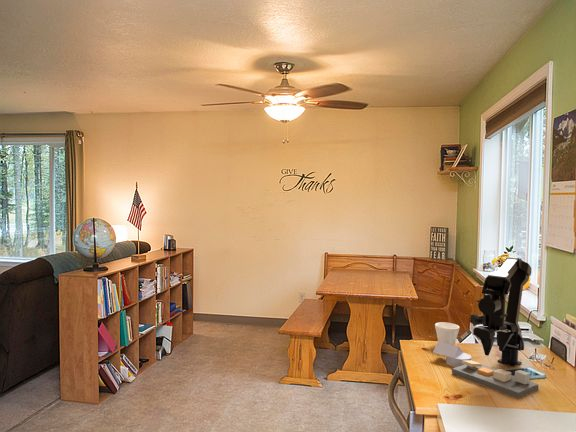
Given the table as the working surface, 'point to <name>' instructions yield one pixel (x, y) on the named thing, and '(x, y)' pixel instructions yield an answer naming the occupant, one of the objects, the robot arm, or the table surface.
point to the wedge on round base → (451, 354)
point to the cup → (447, 332)
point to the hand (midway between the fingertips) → (493, 353)
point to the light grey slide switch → (522, 377)
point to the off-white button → (502, 375)
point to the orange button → (485, 371)
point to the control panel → (495, 381)
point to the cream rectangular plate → (471, 363)
